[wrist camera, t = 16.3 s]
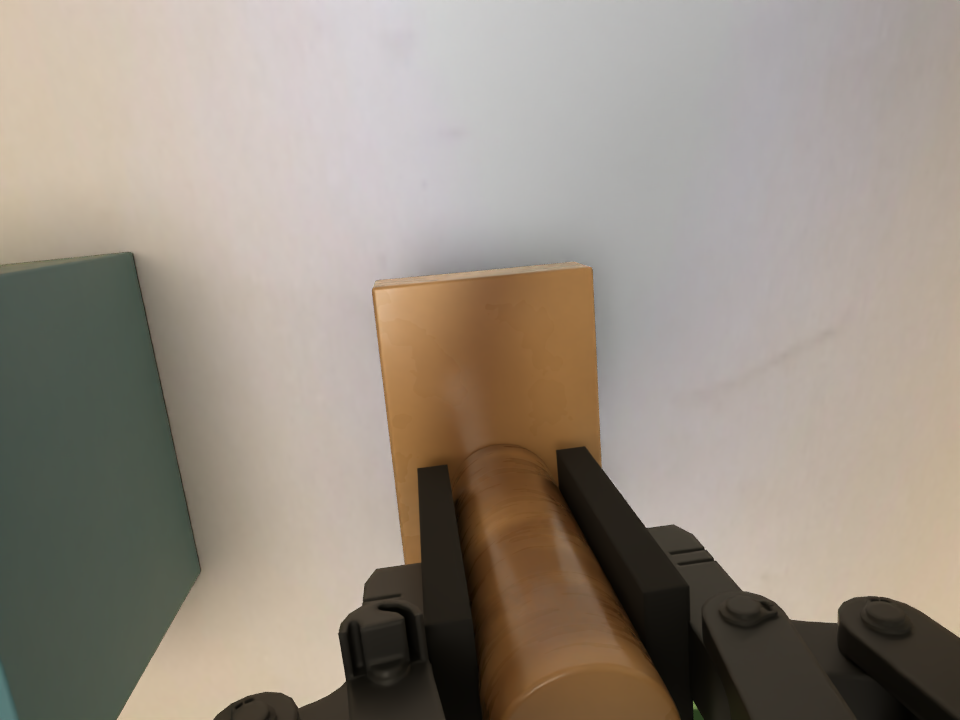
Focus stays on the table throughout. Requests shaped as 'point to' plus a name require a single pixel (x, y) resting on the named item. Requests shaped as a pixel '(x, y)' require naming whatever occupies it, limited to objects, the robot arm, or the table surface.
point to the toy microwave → (83, 491)
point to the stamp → (513, 481)
